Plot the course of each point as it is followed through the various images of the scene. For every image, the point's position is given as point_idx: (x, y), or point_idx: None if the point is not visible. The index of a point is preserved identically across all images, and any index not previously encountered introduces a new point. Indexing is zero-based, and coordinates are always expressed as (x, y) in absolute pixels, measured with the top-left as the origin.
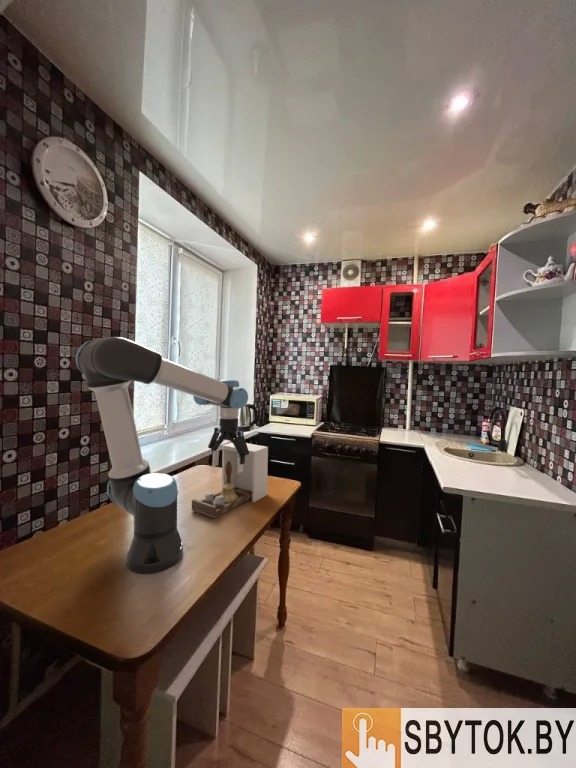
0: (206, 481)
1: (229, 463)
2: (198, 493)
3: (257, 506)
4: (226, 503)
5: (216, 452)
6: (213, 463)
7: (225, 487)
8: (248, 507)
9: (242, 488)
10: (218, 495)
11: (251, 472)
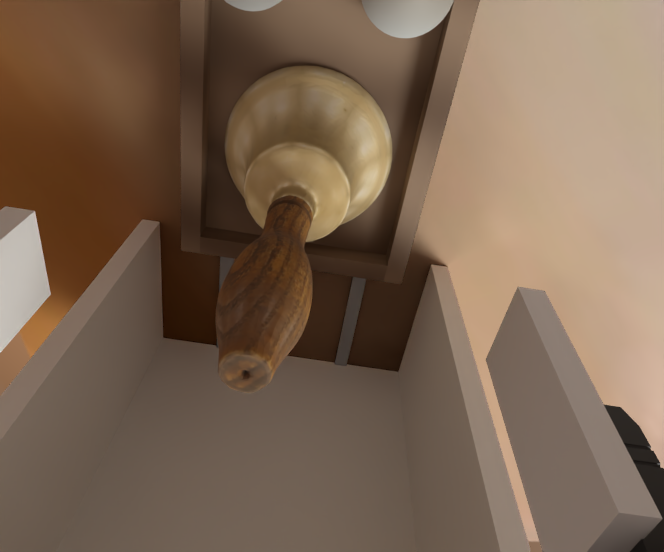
0: (652, 378)
1: (222, 339)
2: (626, 189)
3: (77, 172)
4: (263, 64)
5: (568, 512)
6: (537, 315)
7: (297, 151)
8: (119, 131)
9: (344, 364)
10: (410, 165)
11: (248, 461)
